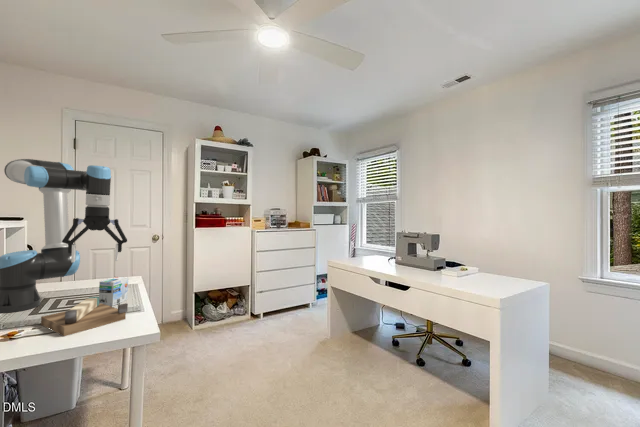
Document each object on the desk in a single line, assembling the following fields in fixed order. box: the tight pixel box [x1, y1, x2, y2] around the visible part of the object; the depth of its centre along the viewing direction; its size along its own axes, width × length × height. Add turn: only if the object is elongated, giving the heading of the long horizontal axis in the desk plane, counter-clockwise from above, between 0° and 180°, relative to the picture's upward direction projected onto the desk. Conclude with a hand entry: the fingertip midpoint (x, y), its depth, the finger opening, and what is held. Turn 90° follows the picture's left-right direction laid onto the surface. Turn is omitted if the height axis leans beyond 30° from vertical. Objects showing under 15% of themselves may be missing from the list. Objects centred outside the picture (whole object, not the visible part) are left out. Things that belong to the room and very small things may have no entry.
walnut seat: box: [40, 302, 128, 337], centre depth 117 cm, size 18×20×6 cm
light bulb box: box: [98, 276, 129, 307], centre depth 141 cm, size 11×7×11 cm, turn 179°
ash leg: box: [64, 296, 99, 324], centre depth 117 cm, size 21×4×4 cm, turn 16°
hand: (95, 261), depth 119 cm, fingers open, 13 cm apart
